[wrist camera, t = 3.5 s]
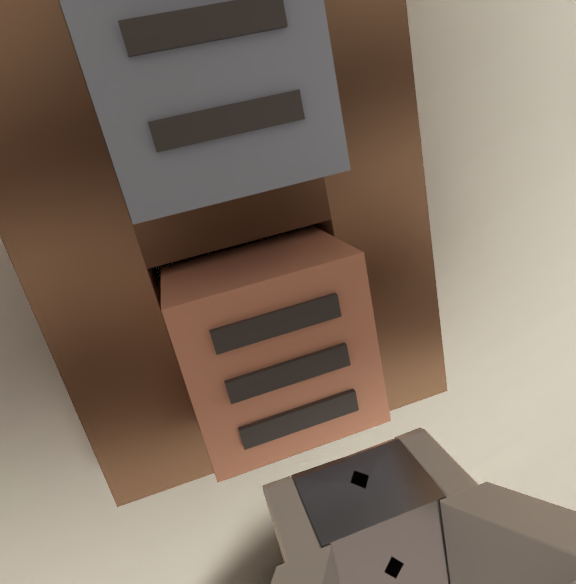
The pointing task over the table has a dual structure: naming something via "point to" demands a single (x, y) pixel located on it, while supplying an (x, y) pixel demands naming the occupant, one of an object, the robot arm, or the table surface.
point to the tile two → (210, 97)
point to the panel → (198, 236)
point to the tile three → (276, 347)
